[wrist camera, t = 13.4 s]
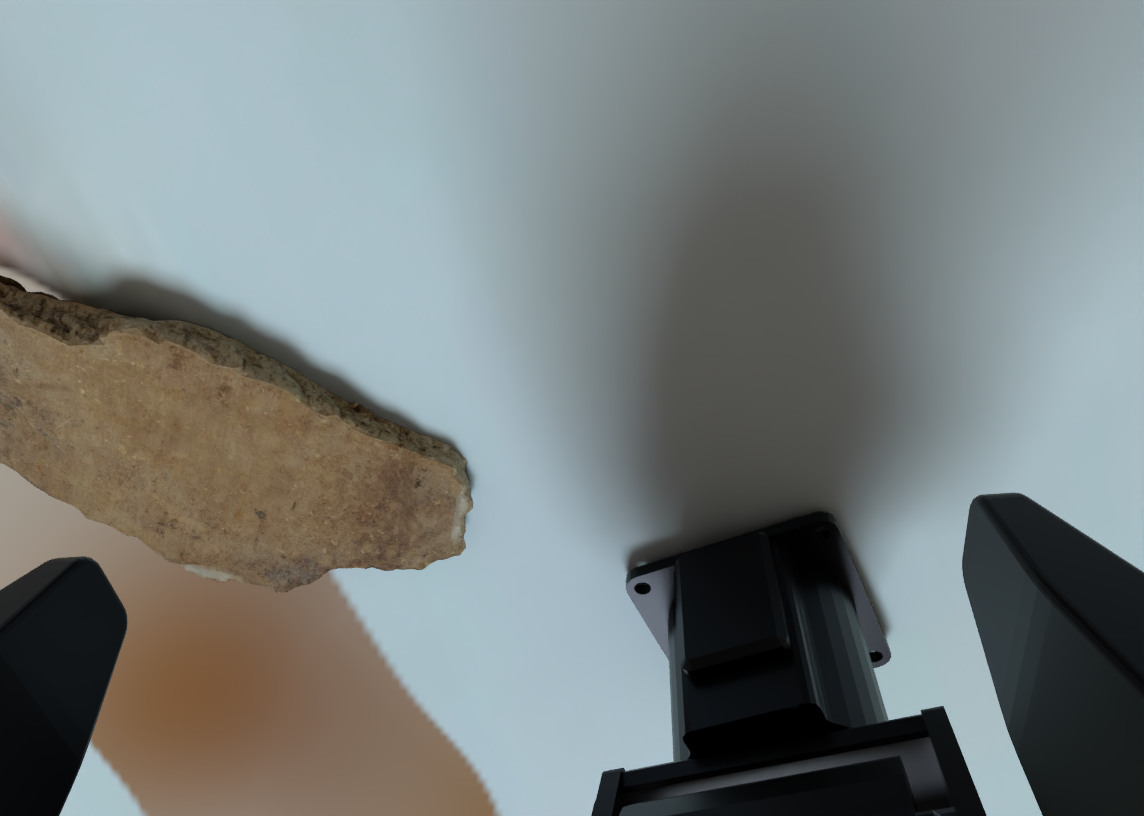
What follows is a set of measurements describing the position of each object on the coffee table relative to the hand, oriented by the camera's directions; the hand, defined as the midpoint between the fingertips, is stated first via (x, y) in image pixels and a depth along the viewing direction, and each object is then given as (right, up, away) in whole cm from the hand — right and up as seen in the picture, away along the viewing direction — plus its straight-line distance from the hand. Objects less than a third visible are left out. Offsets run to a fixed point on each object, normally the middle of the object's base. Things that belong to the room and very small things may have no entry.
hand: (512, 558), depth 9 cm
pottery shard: (-10, +1, +17) cm, 19 cm away
